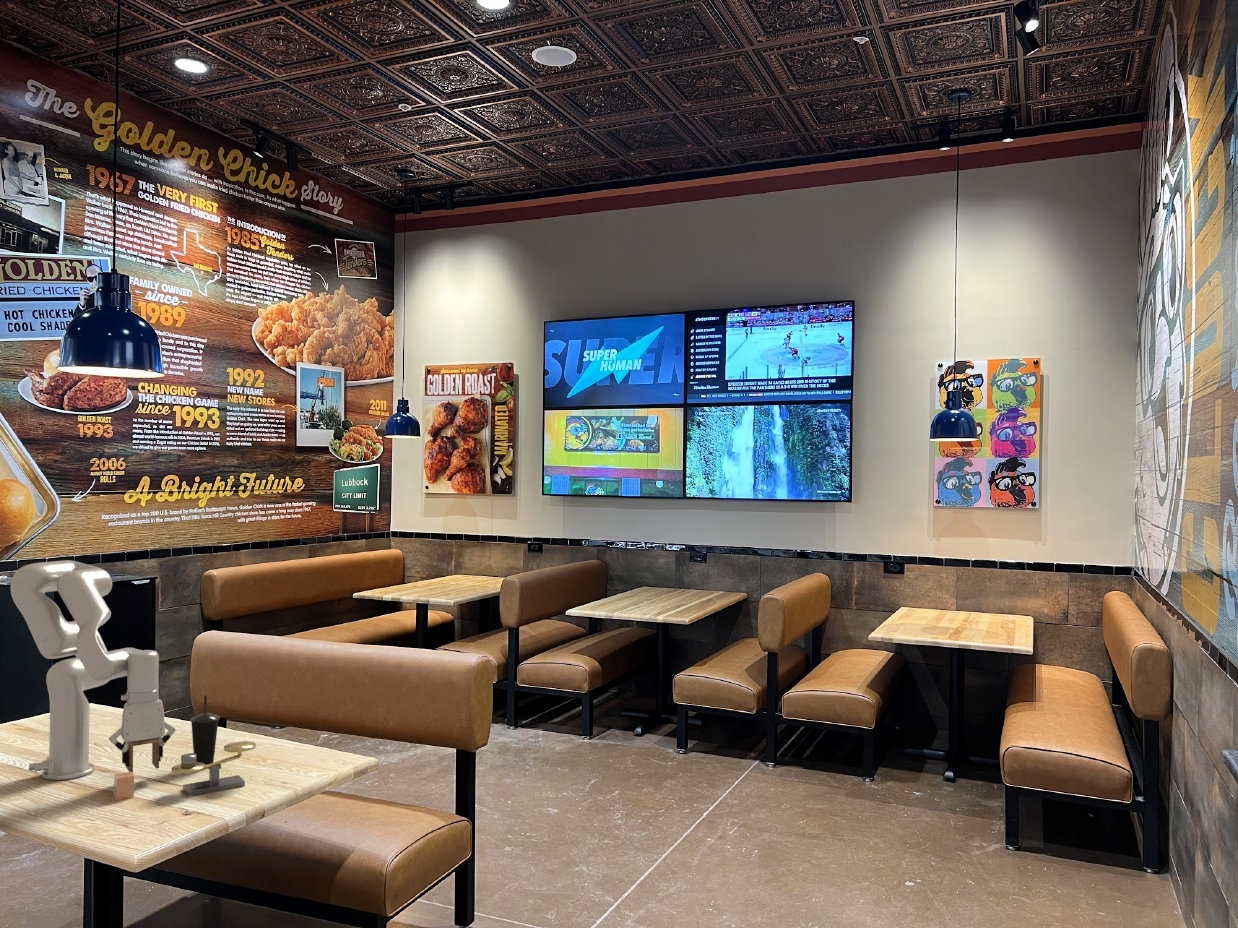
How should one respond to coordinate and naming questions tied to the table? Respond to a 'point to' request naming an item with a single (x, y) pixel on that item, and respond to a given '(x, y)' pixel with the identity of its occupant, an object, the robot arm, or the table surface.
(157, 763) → the arch
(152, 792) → the table surface
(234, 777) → the balance
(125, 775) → the block
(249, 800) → the table surface
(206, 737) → the drinking cup
